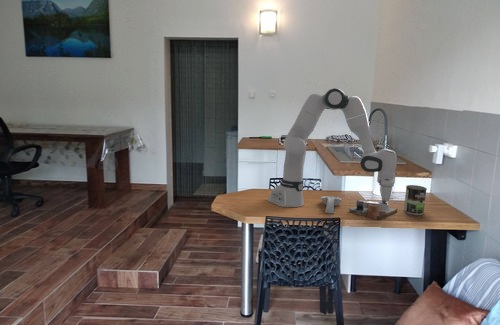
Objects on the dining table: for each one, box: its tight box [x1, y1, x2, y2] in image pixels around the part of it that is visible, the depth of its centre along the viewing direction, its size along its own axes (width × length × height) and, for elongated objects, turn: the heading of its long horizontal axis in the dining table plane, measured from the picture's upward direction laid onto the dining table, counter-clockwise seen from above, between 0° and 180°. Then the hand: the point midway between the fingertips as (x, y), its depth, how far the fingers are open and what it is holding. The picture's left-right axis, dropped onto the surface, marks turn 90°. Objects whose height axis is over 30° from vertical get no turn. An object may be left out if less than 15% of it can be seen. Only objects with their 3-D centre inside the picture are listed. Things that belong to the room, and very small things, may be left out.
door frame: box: [348, 204, 398, 221], centre depth 204 cm, size 17×21×6 cm
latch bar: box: [355, 199, 389, 210], centre depth 201 cm, size 16×4×4 cm, turn 77°
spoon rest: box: [320, 195, 343, 215], centre depth 210 cm, size 24×12×7 cm, turn 167°
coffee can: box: [403, 184, 427, 216], centre depth 205 cm, size 10×10×14 cm
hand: (383, 204), depth 203 cm, fingers closed
